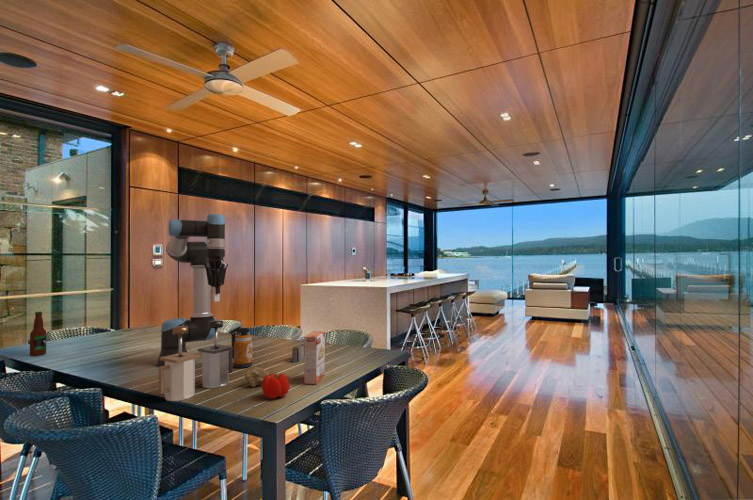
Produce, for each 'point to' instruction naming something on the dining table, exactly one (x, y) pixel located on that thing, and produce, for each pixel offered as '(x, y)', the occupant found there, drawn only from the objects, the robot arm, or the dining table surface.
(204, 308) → the robot arm
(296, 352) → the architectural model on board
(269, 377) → the tomato
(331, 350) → the dining table surface
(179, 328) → the brass press plunger
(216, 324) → the steel plunger
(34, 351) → the bottle
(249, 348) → the canister
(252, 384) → the seashell
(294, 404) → the dining table surface
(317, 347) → the cracker box
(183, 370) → the ceramic press carafe
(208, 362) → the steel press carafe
